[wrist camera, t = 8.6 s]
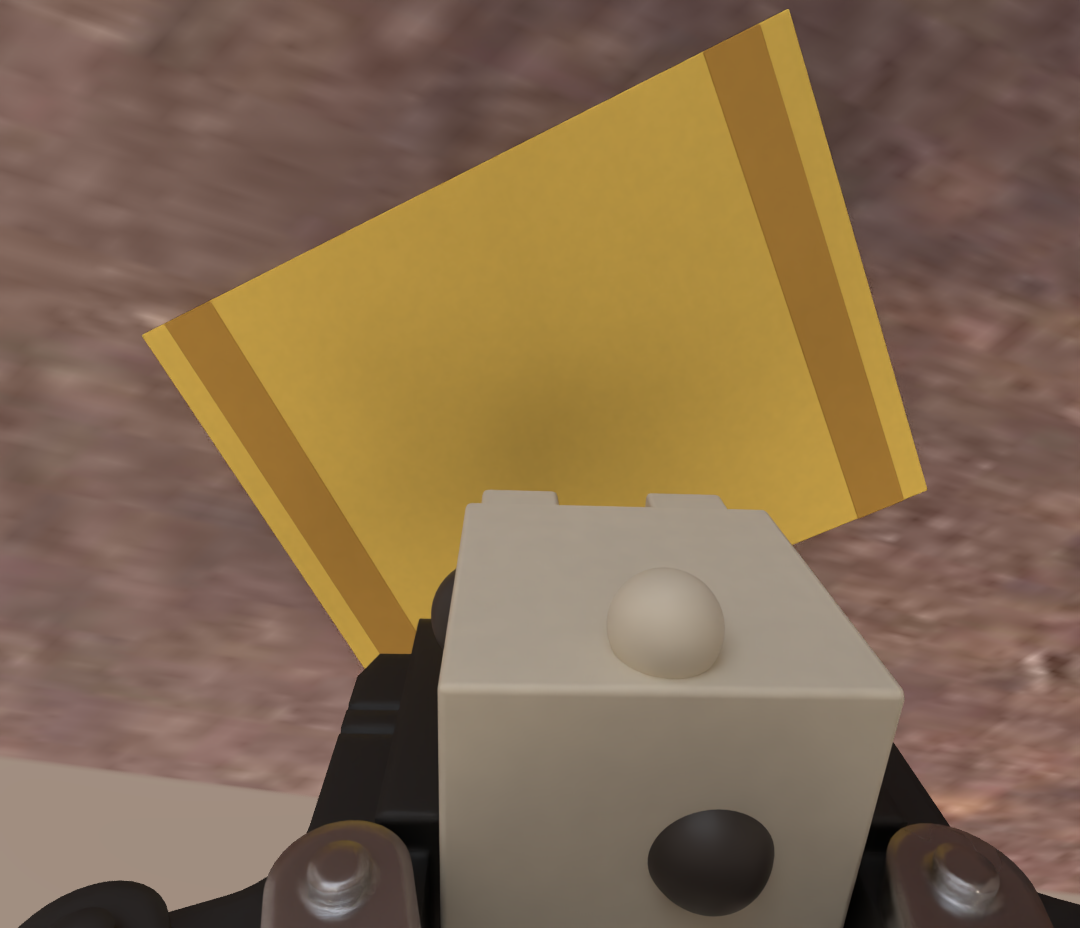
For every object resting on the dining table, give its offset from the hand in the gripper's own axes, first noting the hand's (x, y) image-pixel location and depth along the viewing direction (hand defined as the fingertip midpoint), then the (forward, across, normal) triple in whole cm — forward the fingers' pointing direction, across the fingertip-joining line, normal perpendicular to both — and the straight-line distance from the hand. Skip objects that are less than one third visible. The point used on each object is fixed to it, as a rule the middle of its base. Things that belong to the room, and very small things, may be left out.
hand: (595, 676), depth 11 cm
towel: (+13, 0, 0) cm, 13 cm away
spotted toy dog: (+1, 0, 0) cm, 1 cm away
